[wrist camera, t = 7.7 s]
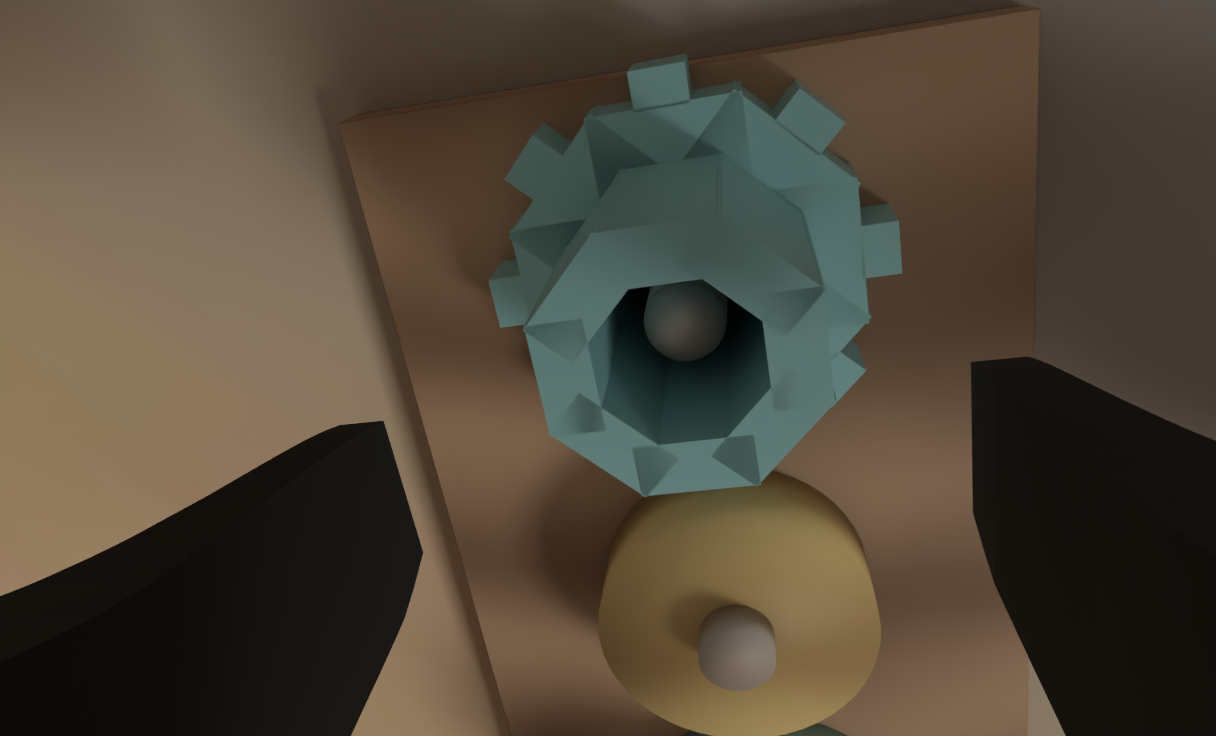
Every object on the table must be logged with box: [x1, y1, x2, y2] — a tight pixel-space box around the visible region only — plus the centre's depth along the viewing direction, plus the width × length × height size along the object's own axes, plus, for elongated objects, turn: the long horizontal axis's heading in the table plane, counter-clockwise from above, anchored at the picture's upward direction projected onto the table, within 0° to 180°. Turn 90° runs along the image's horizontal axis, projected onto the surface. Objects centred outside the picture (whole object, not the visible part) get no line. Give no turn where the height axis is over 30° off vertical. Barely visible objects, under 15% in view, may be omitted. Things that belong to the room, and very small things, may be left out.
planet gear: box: [488, 54, 902, 497], centre depth 16 cm, size 8×8×5 cm
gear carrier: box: [339, 5, 1040, 736], centre depth 19 cm, size 23×13×7 cm, turn 10°
